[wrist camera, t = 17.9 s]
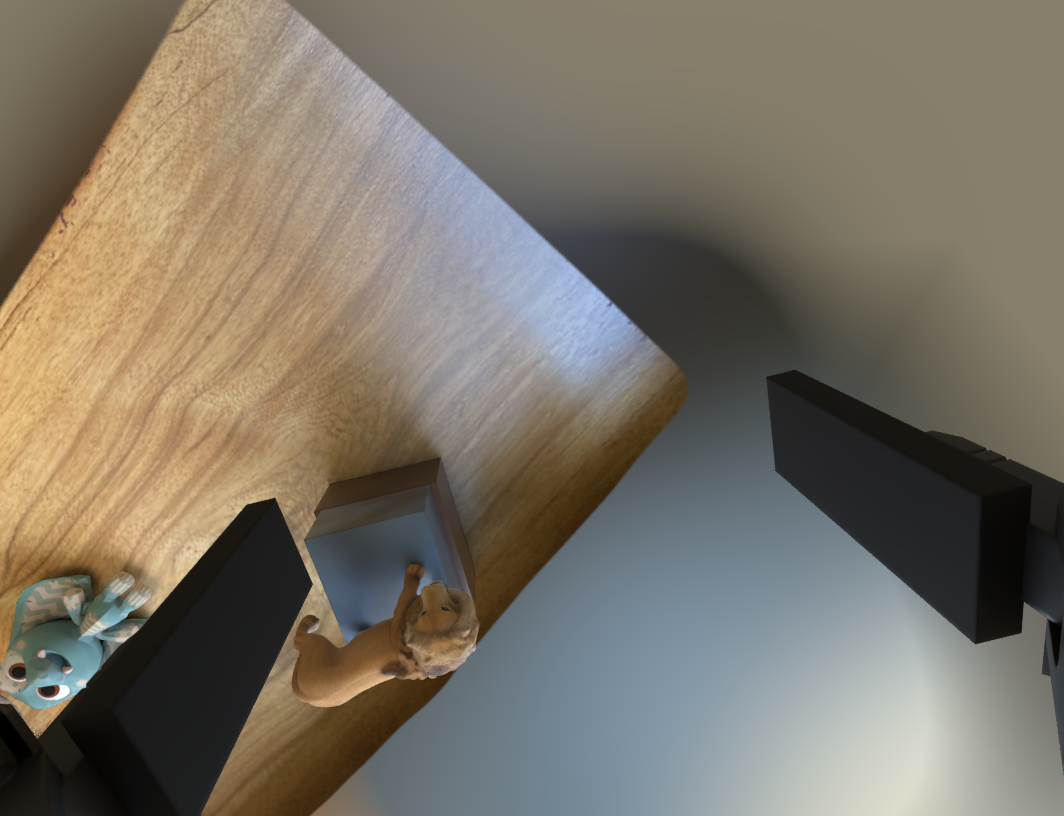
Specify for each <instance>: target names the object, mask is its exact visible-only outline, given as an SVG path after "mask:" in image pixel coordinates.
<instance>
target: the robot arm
mask: <svg viewBox="0 0 1064 816" xmlns="http://www.w3.org/2000/svg"><path fill="white" fill-rule="evenodd" d="M766 378H767V389H768V398H769V409H770V419H771V429H772V439H773V450H774V460H775V471H776V472H777V473H779V474H780V475H781V476H782V477H783V478H784V479H785V480H787V481H788V482H789V483H790V484H791V485H792V486H794V487H795V488H796V489H798V491H799V492H800V493H802V494H803V495H804V496H805V497H806V498H807V499H809V500H810V501H811V502H812V503H813V504H814V505H815V506H817V507H818V508H819V509H820V510H821V511H822V512H824V513H825V514H826V515H827V516H828V517H829V518H831V519H832V520H833V521H834V522H835V523H836V524H837V525H839V526H840V527H841V528H842V529H843V530H844V531H846V532H847V533H848V534H849V535H850V536H851V537H852V538H853V539H855V540H856V541H857V542H858V543H859V544H860V545H862V546H863V547H864V548H865V549H866V550H867V551H868V552H870V553H871V554H872V555H873V556H874V557H875V558H877V559H878V560H879V561H880V562H881V563H882V564H883V565H885V566H886V567H887V568H888V569H889V570H890V571H891V572H893V573H894V574H895V575H896V576H897V577H898V578H900V579H901V580H902V581H903V582H904V583H906V585H908V586H909V587H910V588H911V589H912V590H914V591H915V592H916V593H917V594H918V595H919V596H920V597H922V598H923V599H924V600H925V601H926V602H927V603H928V604H930V605H931V606H932V607H933V608H934V609H935V610H936V611H938V612H939V613H940V614H941V615H942V616H943V617H944V618H946V619H947V620H948V621H949V622H950V623H952V624H953V625H954V626H955V627H956V628H957V629H958V630H959V631H961V632H962V633H963V634H964V635H965V636H966V637H968V638H969V639H970V640H971V641H972V642H973V643H974V644H978V643H982V642H987V641H991V640H995V639H999V638H1003V637H1007V636H1011V635H1015V634H1019V633H1021V631H1022V618H1023V605H1024V602H1025V603H1027V604H1028V605H1030V606H1031V607H1032V608H1034V609H1035V610H1037V611H1038V612H1039V613H1041V614H1042V615H1044V616H1045V617H1046V618H1047V625H1046V635H1045V646H1044V657H1043V667H1042V674H1044V675H1048V676H1051V683H1052V690H1053V697H1054V705H1055V713H1056V721H1057V728H1058V735H1059V743H1060V750H1061V757H1062V766H1063V773H1064V483H1062V482H1059V481H1057V480H1055V479H1053V478H1051V477H1048V476H1046V475H1044V474H1042V473H1040V472H1037V471H1035V470H1033V469H1031V468H1028V467H1026V466H1024V465H1022V464H1019V463H1018V462H1015V461H1013V460H1011V459H1009V460H1006V457H1004V456H1002V455H1000V454H998V453H996V452H993V451H991V450H989V451H987V450H986V448H985V447H982V446H980V445H978V444H976V443H974V442H971V441H969V440H967V439H965V438H963V437H959V436H954V435H949V434H945V433H941V432H936V431H929V432H923V431H921V430H919V429H917V428H915V427H912V426H911V425H909V424H906V423H904V422H902V421H900V420H898V419H896V418H894V417H892V416H890V415H888V414H886V413H884V412H881V411H880V410H877V409H875V408H873V407H871V406H869V405H867V404H865V403H863V402H861V401H859V400H857V399H855V398H853V397H850V396H848V395H846V394H844V393H842V392H840V391H838V390H836V389H834V388H832V387H830V386H828V385H826V384H823V383H821V382H819V381H817V380H815V379H813V378H811V377H809V376H807V375H805V374H803V373H801V372H799V371H797V370H792V371H788V372H784V373H780V374H776V375H773V376H768V377H766ZM312 585H313V583H312V581H311V579H310V577H309V574H308V572H307V570H306V567H305V565H304V563H303V560H302V558H301V556H300V554H299V551H298V549H297V547H296V544H295V542H294V540H293V538H292V535H291V533H290V531H289V528H288V526H287V524H286V522H285V519H284V517H283V515H282V512H281V510H280V508H279V505H278V503H277V501H276V499H275V498H272V499H268V500H264V501H260V502H256V503H252V504H248V505H246V506H245V507H244V508H243V510H242V511H241V512H240V513H239V514H238V515H237V517H236V518H235V519H234V520H233V521H232V522H231V524H230V525H229V526H228V527H227V528H226V529H225V531H224V532H223V533H222V534H221V535H220V536H219V538H218V539H217V540H216V541H215V542H214V543H213V545H212V546H211V547H210V548H209V549H208V550H207V552H206V553H205V554H204V555H203V556H202V557H201V558H200V560H199V561H198V562H197V563H196V564H195V565H194V567H193V568H192V569H191V570H190V571H189V572H188V574H187V575H186V576H185V577H184V578H183V579H182V581H181V582H180V583H179V584H178V585H177V586H176V588H175V589H174V590H173V591H172V592H171V593H170V595H169V596H168V597H167V598H166V599H165V600H164V602H163V603H162V604H161V605H160V606H159V607H158V609H157V610H156V611H155V612H154V613H153V614H152V616H151V617H150V618H149V619H148V620H147V621H146V623H145V624H144V625H143V626H142V627H141V628H140V629H139V630H138V631H137V632H136V633H134V634H133V635H132V636H131V637H129V638H128V639H127V640H126V641H124V642H123V643H122V644H121V645H119V647H118V648H117V649H116V650H115V651H114V652H113V653H112V655H111V656H110V657H109V658H108V659H107V660H106V661H105V663H104V664H103V665H102V666H101V670H98V671H97V672H96V673H95V674H94V675H93V676H92V677H91V679H90V680H89V681H88V682H87V683H86V688H82V689H81V690H80V691H79V692H78V693H77V695H76V696H75V697H74V698H73V699H72V700H71V701H70V703H69V704H68V705H67V706H66V707H65V708H64V709H63V711H62V712H61V713H60V714H59V715H58V716H57V718H56V719H55V720H54V721H53V722H52V723H51V724H50V726H49V727H48V728H47V729H46V730H45V731H44V732H43V734H42V735H41V736H40V737H39V738H38V739H37V738H36V737H35V736H34V734H33V733H32V731H31V730H30V728H29V727H28V726H27V724H26V723H25V721H24V720H23V719H22V717H21V716H20V714H19V713H18V712H17V710H16V709H15V708H14V706H13V705H12V704H0V816H200V815H201V813H202V811H203V809H204V807H205V805H206V803H207V801H208V799H209V796H210V794H211V792H212V790H213V788H214V786H215V784H216V782H217V780H218V778H219V776H220V774H221V772H222V770H223V768H224V766H225V764H226V762H227V760H228V757H229V755H230V753H231V751H232V749H233V747H234V745H235V743H236V741H237V739H238V737H239V735H240V733H241V731H242V729H243V727H244V725H245V723H246V720H247V718H248V716H249V714H250V712H251V710H252V708H253V706H254V704H255V702H256V700H257V698H258V696H259V694H260V692H261V690H262V688H263V686H264V684H265V681H266V679H267V677H268V675H269V673H270V671H271V669H272V667H273V665H274V663H275V661H276V659H277V657H278V655H279V653H280V651H281V649H282V647H283V644H284V642H285V640H286V638H287V636H288V634H289V632H290V630H291V628H292V626H293V624H294V622H295V620H296V618H297V616H298V614H299V612H300V610H301V608H302V605H303V603H304V601H305V599H306V597H307V595H308V593H309V591H310V589H311V587H312Z"/></svg>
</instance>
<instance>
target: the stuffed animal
mask: <svg viewBox="0 0 1064 816" xmlns="http://www.w3.org/2000/svg"><path fill="white" fill-rule="evenodd" d="M134 582H135V578H134V577H133V576H132V575H131V574H128V573H126V572H124V571H123V572H121V573H118V574H117V575H116V576H115V577H113V578H112V579H111V580H110V581H109V582H108V584H107V585H106V587H105V589H104V591H103V592H102V594H100V595H98V596H96V598H95V599H94V601H93V602H92V604H91V605H90V607H89V609H88V611H87V613H86V614H85V615H82V613H83V612H84V611H85V609H86V608H87V606H88V605H89V604H90V602H91V601H92V600H93V597H92V590H91V582H90V576H88V575H74V576H67V577H60V578H53V579H47V580H43V581H41V582H39V583H36V584H34V585H32V586H30V587H27V588H25V589H24V590H23V592H22V594H21V595H20V597H19V599H18V601H17V604H16V611H15V618H14V623H13V628H12V633H11V638H10V643H9V647H8V649H7V651H6V653H5V655H4V657H3V659H2V661H1V663H0V689H2V690H3V691H5V692H7V693H8V694H10V695H11V696H12V697H14V698H15V699H17V700H19V701H21V702H24V703H26V704H27V705H29V706H30V707H32V708H35V709H45V708H51V707H53V706H55V705H57V704H59V703H61V702H62V701H65V700H67V699H69V698H70V697H72V696H74V695H76V694H77V693H78V692H79V691H80V690H81V689H82V688H86V683H87V682H88V681H89V680H90V679H91V677H92V676H93V675H94V674H95V673H96V672H97V671H98V670H101V666H102V665H103V664H104V663H105V661H106V660H107V659H108V658H109V657H110V656H111V655H112V653H113V652H114V651H115V650H116V649H117V648H118V647H119V645H121V644H122V643H123V642H124V641H126V640H127V639H128V638H129V637H131V636H132V635H133V634H134V633H136V632H137V631H138V630H139V629H140V628H141V627H142V626H143V625H144V624H145V623H146V621H147V620H148V619H149V618H143V619H124V618H126V617H127V615H128V613H130V612H131V611H133V610H135V609H137V608H139V607H140V606H142V605H143V604H144V603H145V602H146V601H147V600H148V599H149V598H150V597H151V595H152V591H151V590H150V589H149V587H147V586H145V585H143V584H139V585H136V586H135V587H134V588H133V589H132V590H131V591H130V592H129V593H128V595H127V596H126V597H125V599H124V600H122V598H121V597H118V596H120V595H121V594H123V593H124V592H125V591H127V590H128V589H129V588H130V587H131V586H133V585H134ZM70 617H71V618H72V621H69V620H63V619H67V618H70ZM109 627H110V628H109ZM107 628H108V629H107ZM106 629H107V630H106ZM99 639H101V640H104V641H103V644H101V642H100V640H99Z"/></svg>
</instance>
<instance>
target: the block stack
mask: <svg viewBox="0 0 1064 816" xmlns="http://www.w3.org/2000/svg"><path fill="white" fill-rule="evenodd" d="M314 513H315V516H316V520H315V522H314V523H313V525H312V527H311V529H310V530H309V532H308V534H307V536H306V537H305V539H304V541H305V544H306V546H307V548H308V551H309V553H310V556H311V558H312V561H313V563H314V566H315V568H316V570H317V573H318V575H319V578H320V580H321V583H322V585H323V587H324V590H325V592H326V595H327V597H328V600H329V602H330V605H331V607H332V609H333V612H334V614H335V617H336V619H337V622H338V624H339V626H340V629H341V631H342V634H343V636H344V639H345V641H346V644H347V643H348V642H350V641H351V640H352V639H353V638H354V637H355V636H356V634H358V633H359V632H360V631H362V630H366V629H368V628H370V627H372V626H374V625H375V624H377V623H379V622H382V621H384V620H387V619H389V618H392V617H393V612H394V610H395V607H396V605H397V602H398V598H399V596H400V594H401V592H402V590H403V587H404V576H405V573H406V570H407V568H408V566H409V564H419V565H421V566H423V569H424V571H425V574H424V577H423V578H422V579H421V580H420V585H419V587H418V590H417V595H420V594H421V590H422V588H423V587H424V586H426V585H430V584H431V582H433V581H435V580H441V581H442V582H443V583H444V585H445V586H446V588H453V589H458V590H460V591H463V592H466V593H469V595H470V596H471V598H472V600H473V602H474V606H475V570H474V566H473V563H472V560H471V556H470V553H469V550H468V547H467V543H466V540H465V537H464V533H463V530H462V527H461V523H460V520H459V517H458V513H457V510H456V507H455V503H454V500H453V497H452V493H451V490H450V487H449V484H448V480H447V477H446V474H445V470H444V467H443V464H442V460H441V458H438V459H434V460H430V461H426V462H422V463H418V464H413V465H409V466H405V467H401V468H397V469H393V470H389V471H384V472H380V473H376V474H372V475H368V476H364V477H360V478H355V479H351V480H347V481H343V482H339V483H335V484H331V485H330V486H329V487H328V489H327V491H326V492H325V494H324V496H323V497H322V499H321V501H320V502H319V504H318V506H317V508H316V509H315V511H314Z"/></svg>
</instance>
